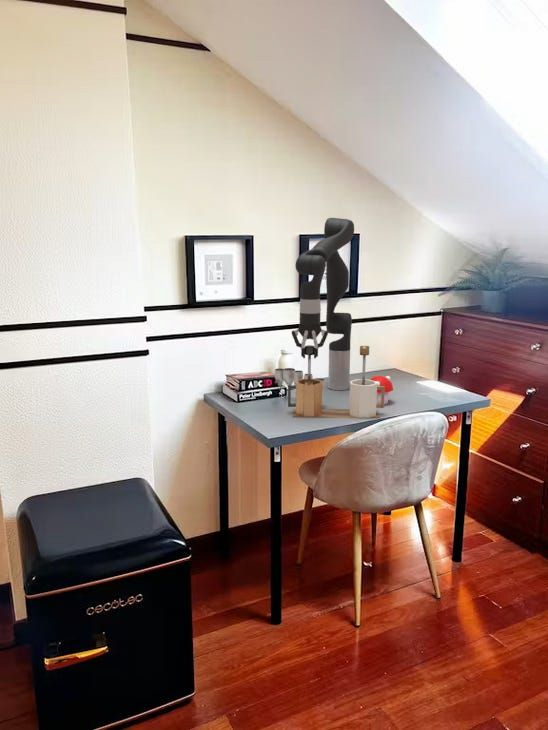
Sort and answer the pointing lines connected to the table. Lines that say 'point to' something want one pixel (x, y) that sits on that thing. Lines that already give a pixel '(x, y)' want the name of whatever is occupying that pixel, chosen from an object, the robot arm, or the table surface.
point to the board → (333, 414)
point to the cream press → (364, 398)
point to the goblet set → (292, 377)
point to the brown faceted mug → (307, 397)
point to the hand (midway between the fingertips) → (309, 357)
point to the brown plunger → (364, 360)
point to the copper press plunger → (309, 360)
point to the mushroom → (386, 383)
